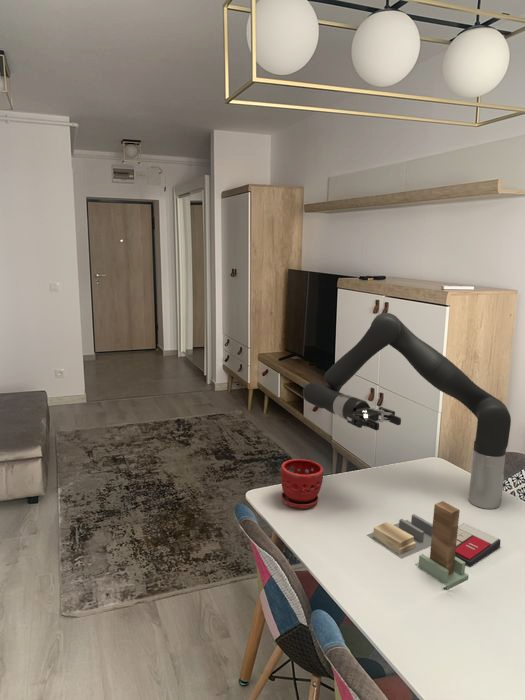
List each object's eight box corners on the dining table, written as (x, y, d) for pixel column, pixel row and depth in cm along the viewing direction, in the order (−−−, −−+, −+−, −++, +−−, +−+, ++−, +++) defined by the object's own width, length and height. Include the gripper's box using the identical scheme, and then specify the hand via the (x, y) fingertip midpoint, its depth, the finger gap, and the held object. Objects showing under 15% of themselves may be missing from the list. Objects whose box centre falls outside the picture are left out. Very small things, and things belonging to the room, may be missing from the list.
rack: (406, 523, 158) (407, 510, 157) (442, 544, 147) (444, 530, 147) (365, 539, 150) (366, 525, 149) (401, 562, 139) (402, 548, 138)
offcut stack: (388, 530, 152) (389, 520, 151) (415, 547, 144) (416, 537, 143) (372, 536, 149) (372, 526, 148) (399, 554, 140) (399, 544, 140)
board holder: (435, 559, 141) (436, 544, 140) (468, 579, 133) (469, 564, 132) (414, 568, 137) (415, 553, 136) (446, 590, 128) (448, 574, 128)
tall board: (437, 562, 137) (442, 501, 134) (453, 573, 133) (459, 509, 130) (429, 566, 136) (434, 504, 132) (445, 576, 132) (451, 513, 128)
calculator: (432, 540, 144) (464, 520, 153) (431, 554, 145) (463, 533, 154) (470, 559, 135) (501, 537, 144) (469, 574, 136) (500, 551, 145)
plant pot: (305, 516, 161) (306, 478, 159) (271, 502, 170) (272, 466, 167) (330, 501, 171) (331, 465, 168) (296, 488, 179) (297, 454, 177)
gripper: (333, 400, 162) (371, 415, 149) (368, 393, 169) (408, 407, 156) (332, 424, 163) (370, 441, 150) (367, 416, 171) (406, 432, 158)
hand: (389, 424), depth 153 cm, fingers open, 8 cm apart
